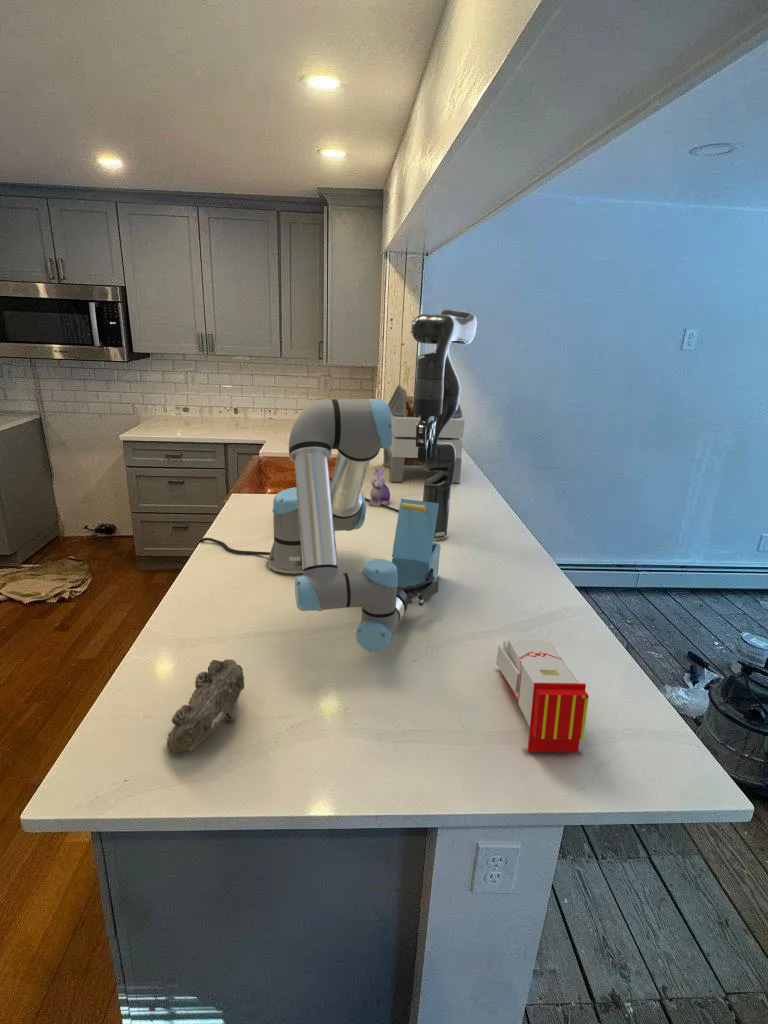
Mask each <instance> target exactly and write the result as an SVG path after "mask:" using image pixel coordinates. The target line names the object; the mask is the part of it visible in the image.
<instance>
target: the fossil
mask: <svg viewBox="0 0 768 1024" xmlns="http://www.w3.org/2000/svg"><path fill="white" fill-rule="evenodd" d="M243 670H244V669H243V667H242V665H240V664H237V662H236V661H235V660H234V659H232V658H231V659H227V658H226V659H224V660H223V661H222V660H217V659H212V660H211V661H210V663H209V665H208V666H207V671H201V672H199V673H198V674H197V675H196V676H195V680H194V684H195V685H194V687H195V689H194V690H193V693H192V694H191V697H190V698H189V700H188V704H184V705H182V706H181V707H180V709H177V710H176V711H175V713H174V715H173V716H172V718H171V723H172V724H173V727H172V730H171V731H170V732H168V734H167V738H166V741H167V742H166V745H167V749H168V750H169V751H173V752H174V753H176V754H178V753H182V752H188V751H189V752H192V751H193V750H195V748H196V747H197V746H199V744H200V743H201V742H203V741H204V740H205V739H206V738H207V737H208V736H209V735H210V734H211V733H212V732H214V730H215V729H217V727H218V726H219V724H220V722H221V721H222V720H223V719H224V718H225V716H226V717H227V719H229V720H233V717H232V715H230V714H229V710H230V709H231V708H234V706H235V704H236V703H237V702H238V699H239V697H240V695H241V693H242V691H243V690H245V689H244V688H245V675H244V671H243Z"/></svg>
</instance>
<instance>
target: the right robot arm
mask: <svg viewBox="0 0 768 1024" xmlns="http://www.w3.org/2000/svg"><path fill="white" fill-rule="evenodd" d="M477 324H478V323H477V317H476V315H475V314H474V313H471V312H468V311H461V310H454V309H443V310H442V312H441V313H440V314H434V313H433V314H431V313H420V314H418V315H416V317H415V318H414V320H413V321H412V324H411V336H412V337H413V339H414V340H415V341H416V342H417V343H419V344H428V345H435V346H436V347H435V350H434V351H432V352H427V353H422V354H419V355H418V356H417V359H416V360H417V361H416V373H415V374H416V377H415V383H414V390H413V391H414V392H413V396H414V407H413V412H414V414H416V415H420V416H421V418H420V422H418V425H417V426H416V447H417V448H418V459H417V461H418V462H421V464H422V466H421V467H422V469H423V470H424V471H426V472H436V473H435V475H433V476H431V477H428V478H427V479H425V480H424V482H423V493H422V496H423V497H422V501H424V502H432V503H438V504H439V506H438V512H437V519H436V526H435V532H434V539H433V542H440V541H444V540H446V539H447V538H448V525H449V517H450V516H449V514H450V504H451V494H452V493H451V491H452V485H453V483H452V482H453V475H454V468H455V460H456V452H455V448H454V446H453V445H452V444H450V443H437V441H438V438H439V435H440V433H441V431H442V429H443V428H444V426H445V425H446V424H447V423H448V421H449V420H450V419H451V417H452V416H453V415H454V413H455V412H456V410H457V408H458V404H459V405H460V398H461V397H460V396H461V392H462V391H461V390H462V386H461V381H460V379H459V376H458V375H457V372H456V370H455V368H454V365H453V363H452V360H451V356H450V346H451V344H457V345H468V344H471V342H473V340H474V338H475V336H476V333H477ZM421 440H423V443H421ZM329 480H330V482H331V481H332V477H330V476H329ZM365 502H369V503H370V499H369V498H366V497H365ZM380 507H384V508H386V509H388V510H392V511H394V512H397V513H399V509H398V508H395V507H392V506H389V505H387V504H386V505H384V504H381V506H380Z"/></svg>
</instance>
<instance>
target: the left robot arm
mask: <svg viewBox="0 0 768 1024" xmlns="http://www.w3.org/2000/svg"><path fill="white" fill-rule="evenodd" d="M392 439H393V428H392V418H391V412H390V408H389V406H388V402H386V401H385V400H383V399H374V398H322V399H318V400H316V401H314V402H312V403H311V404H309V405H307V406H306V407H305V408H304V409H303V410H302V411H301V412H300V414H299V415H298V417H297V418H296V420H295V422H294V424H293V426H292V427H291V431H290V434H289V438H288V456H289V460H290V461H291V462H293V463H294V473H295V476H294V477H295V487H290V488H286V489H283V490H281V491H278V492H277V493H276V494H275V496H274V497H273V505H272V513H273V543H272V546H271V550H270V551H254V550H239V549H233V548H232V547H231V548H230V547H229V546H228V545H227V544H226V543H225V542H224V541H221V540H218V539H215V538H211V537H203V538H201V539H200V540H198V543H199V544H201V543H203V542H206V541H207V542H208V541H209V542H213V543H216V544H219V545H220V546H222V547H223V548H224V549H225V550H226V551H228V552H231V553H233V554H239V555H241V554H242V555H257V556H258V555H259V556H268V561H267V562H268V565H267V566H268V568H269V569H270V570H271V571H273V572H276V573H278V574H282V575H290V576H291V575H294V576H295V575H299V576H296V578H295V580H294V595H295V604H296V607H297V609H298V610H299V611H301V612H313V611H314V612H315V611H317V612H321V611H326V610H327V611H329V610H338V609H347V608H348V609H349V608H359V607H360V608H361V622H360V623H359V624H358V626H357V629H356V633H355V637H356V641H357V643H358V645H359V646H360V647H361V648H362V649H363V650H365V651H367V652H370V653H379V652H382V651H383V650H384V649H386V648H387V646H388V644H389V643H390V642H391V641H392V640H393V635H394V634H395V632H396V630H397V628H398V626H399V624H400V623H401V621H402V619H403V617H404V615H405V613H406V612H407V610H408V608H409V606H410V605H411V604H412V603H416V604H417V606H419V607H422V606H424V603H425V602H426V601H428V600H430V599H431V598H432V597H433V596H434V595H435V594H437V593H438V592H439V582H438V581H435V582H434V579H435V577H433V570H434V569H432V568H431V569H430V571H429V573H428V575H427V577H426V580H425V581H424V582H422V583H419V584H417V585H414V586H411V585H410V586H407V587H398V582H397V567H396V566H395V564H394V563H392V561H390V560H388V559H383V558H374V559H371V560H367V561H366V562H365V563H364V564H363V567H362V571H352V572H350V571H349V572H339V565H338V564H339V563H338V554H337V543H336V532H340V531H341V532H342V531H343V532H344V531H346V532H350V531H355V530H359V529H361V528H362V526H363V525H364V523H365V520H366V514H367V503H366V502H367V501H366V500H365V498H366V497H365V495H364V494H363V493H362V492H361V491H362V487H363V485H364V481H365V478H366V476H367V472H368V468H369V465H370V462H371V461H372V460H373V459H375V458H376V457H377V456H378V455H379V453H380V451H381V449H383V450H384V449H385V448H389V447H390V446H391V445H392ZM332 450H337V456H336V459H335V465H334V469H333V473H332V477H331V479H332V481H330V479H329V477H330V471H329V460H330V458H331V457H332Z"/></svg>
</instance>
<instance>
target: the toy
mask: <svg viewBox="0 0 768 1024" xmlns="http://www.w3.org/2000/svg"><path fill="white" fill-rule="evenodd" d="M502 644H503V645H499V644H498V646H497V654H496V661H495V664H496V666H497V667H498V669H499V672H500V674H501V675H502V677H503V679H504V681H505V682H506V684H507V687H508V688H509V690H510V692H511V693H512V695H513V697H514V699H515V700H516V703H518V706H519V708H520V710H521V713H522V714H523V716H524V718H525V721H526V723H527V725H528V727H529V731H528V742H527V752H529V753H579V747H580V740H581V741H582V740H584V737H585V730H586V722H587V721H586V719H587V713H588V705H589V704H588V703H589V694H588V693H587V691H586V689H587V688H586V687H587V684H586V683H583V682H581V683H580V682H579V680H578V679H577V677H576V676H575V675H574V673H573V672H572V671H571V669H570V668H569V667H568V665H567V664H566V663H565V661H564V660H563V658H562V656H561V655H560V654H559V652H557V650H556V648H555V646H554V645H553V644H552V643H551V642H550V641H549V639H522V638H521V639H517V638H516V639H515V638H514V639H512V638H508V639H507V640H503V643H502Z"/></svg>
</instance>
